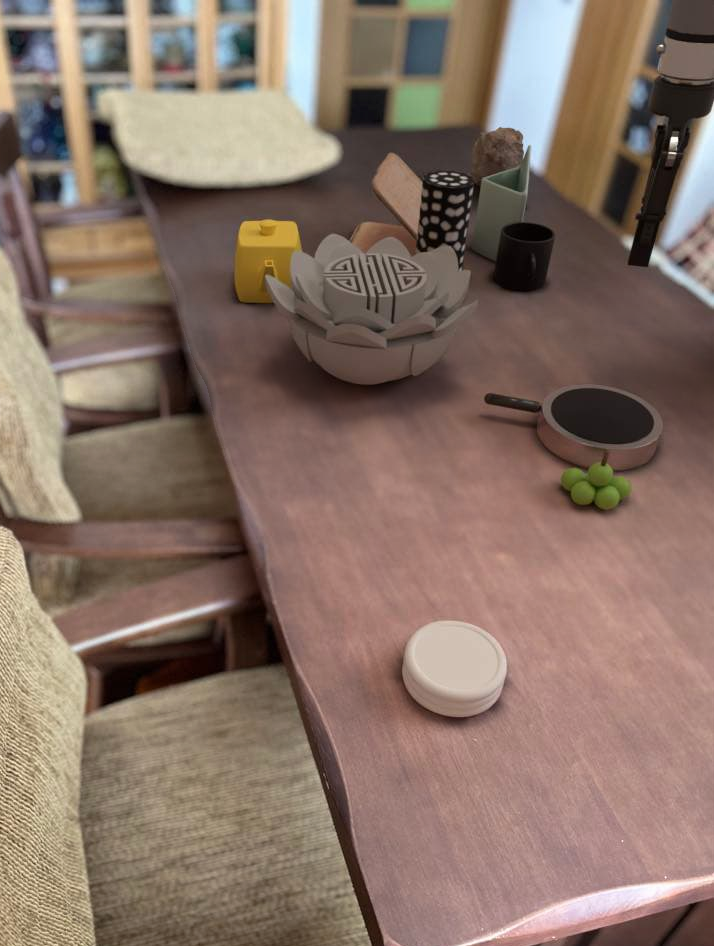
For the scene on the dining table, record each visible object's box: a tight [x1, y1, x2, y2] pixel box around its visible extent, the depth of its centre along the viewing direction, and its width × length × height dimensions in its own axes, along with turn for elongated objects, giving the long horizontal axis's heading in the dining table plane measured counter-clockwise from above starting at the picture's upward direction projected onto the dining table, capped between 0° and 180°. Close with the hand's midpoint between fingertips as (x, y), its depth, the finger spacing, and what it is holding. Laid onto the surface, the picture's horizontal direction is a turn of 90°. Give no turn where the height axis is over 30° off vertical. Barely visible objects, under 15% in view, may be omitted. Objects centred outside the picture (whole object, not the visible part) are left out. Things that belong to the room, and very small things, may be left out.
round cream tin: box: [401, 619, 508, 718], centre depth 81 cm, size 10×10×4 cm
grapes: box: [560, 450, 633, 511], centre depth 101 cm, size 9×5×8 cm, turn 73°
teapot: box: [233, 218, 303, 304], centre depth 144 cm, size 20×12×12 cm, turn 1°
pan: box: [483, 383, 664, 472], centre depth 114 cm, size 24×16×4 cm, turn 71°
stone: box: [470, 126, 532, 188], centre depth 180 cm, size 22×10×15 cm, turn 8°
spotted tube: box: [415, 169, 475, 272], centre depth 140 cm, size 8×8×20 cm
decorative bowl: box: [265, 233, 479, 386], centre depth 123 cm, size 30×30×15 cm
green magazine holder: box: [471, 144, 532, 263], centre depth 155 cm, size 16×8×20 cm, turn 172°
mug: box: [493, 221, 556, 292], centre depth 148 cm, size 9×12×9 cm
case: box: [348, 152, 423, 257], centre depth 155 cm, size 20×21×16 cm
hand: (637, 263), depth 116 cm, fingers closed
